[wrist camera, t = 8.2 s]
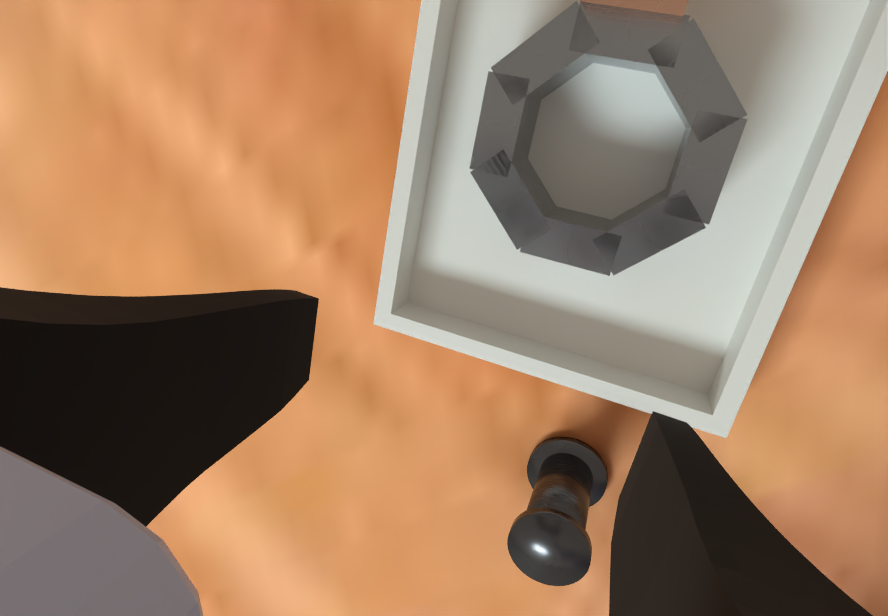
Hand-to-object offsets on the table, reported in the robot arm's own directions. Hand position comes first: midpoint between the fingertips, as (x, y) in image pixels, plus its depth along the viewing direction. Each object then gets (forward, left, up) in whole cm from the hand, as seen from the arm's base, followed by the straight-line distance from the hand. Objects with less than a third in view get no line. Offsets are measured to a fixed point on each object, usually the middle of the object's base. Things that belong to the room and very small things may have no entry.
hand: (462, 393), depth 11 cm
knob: (-3, +7, -9) cm, 12 cm away
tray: (-1, -5, -9) cm, 11 cm away
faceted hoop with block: (-1, -7, -9) cm, 11 cm away
